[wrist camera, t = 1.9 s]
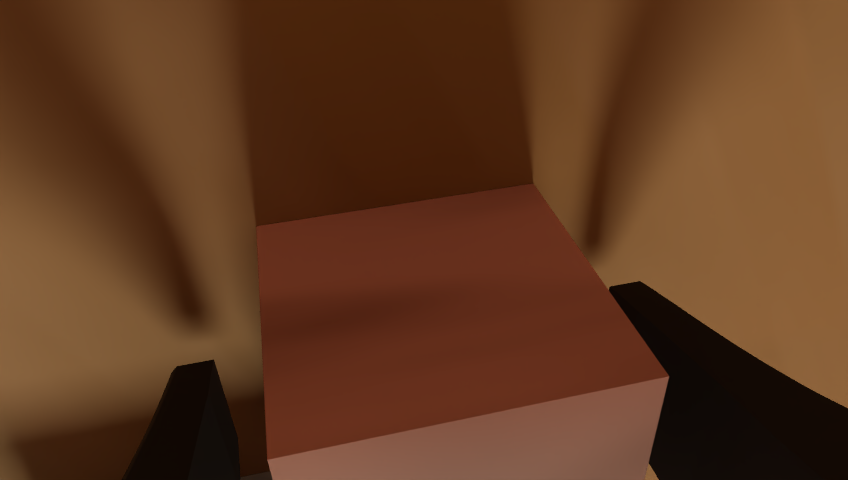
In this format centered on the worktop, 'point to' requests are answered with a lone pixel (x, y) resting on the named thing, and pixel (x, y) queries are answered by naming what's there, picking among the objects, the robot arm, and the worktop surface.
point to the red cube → (449, 348)
